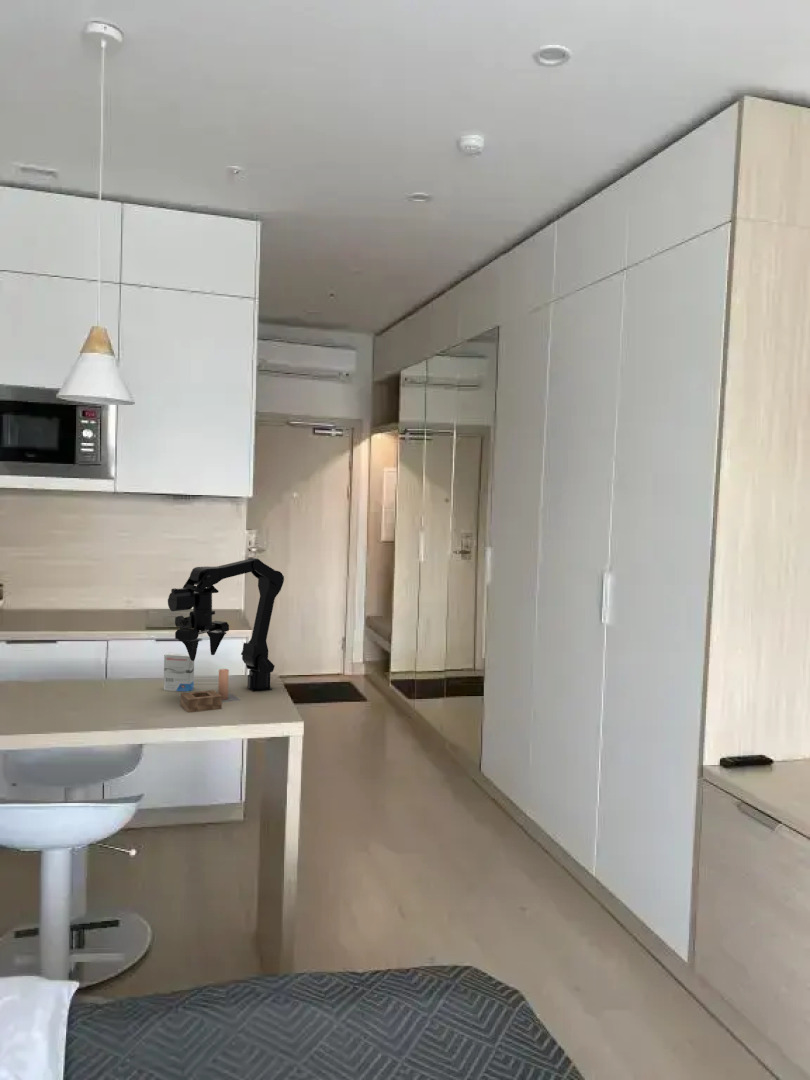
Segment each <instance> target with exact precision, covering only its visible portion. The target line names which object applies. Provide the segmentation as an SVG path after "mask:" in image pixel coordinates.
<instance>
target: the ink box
mask: <svg viewBox="0 0 810 1080" xmlns="http://www.w3.org/2000/svg"><path fill="white" fill-rule="evenodd" d="M163 657H164V658H163V659H164V660H163V691H173V692H174V691H175V692H187V691H189V692H192V690H193V689H195V687H194V685H195V684H194V683H195V660H194V661H191V659H190V656H189V654H188V652H187V653H186V652H185V653H184V652H173V651H172V652H167V653H166V654H164V656H163Z"/></svg>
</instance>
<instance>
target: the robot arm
mask: <svg viewBox="0 0 810 1080" xmlns="http://www.w3.org/2000/svg"><path fill="white" fill-rule="evenodd" d="M248 573H251V574H252V575H253V576H254V577H255V578H256V579H257V587H258V588H257V589H258V592H259V598H258V605H257V609H256V613H255V619H254V624H253V628H252V633H251V638H250V640H249V641H248V642H243V644H242V651H241V654H240V655H241V656H242V657H241V659H242V661H243V663H244V664H245V666H246V669H247V670H248V672H249V673H248V675H247V684H246V685H247V686H246V688H247V689H248V690H250V691H252V692H263V691H264V692H265V691H272V690H273V688H272V687H271V673H274V669H275V664H273V662H271V660H270V659H269V647H268V643H267V640H268V639H267V638H268V633H269V628H270V623H271V619H272V613H273V609H274V604H275V600H276V598H277V596H278V594H280V593H281V591H282V587H283V584H284V581H285V576H284V575H283V573H282V572H281V571H279V570H275V569H274V568H272V567H271V566H269V565H268V564H266V563H264V562H263V561H262V560H261V559H259V558H256V557H255V558H253V557H248V558H247V559H243V560H239V561H235V562H231V563H227V564H221V565H217V566H195V567H193V568H192V570H191V572H190V574H189V576H188V579H187V580H186V582H185V584H184V585H183V586H182V588H181V587H180V588H175V587H174V588H171V590H170V591H171V592H170V593H169V595H168V598H167V605H168V608H169V610H170V612H180V611H190V610H192V611H190V612H189V616H186V617H184V615H179V616H176V617H174V618H175V619H174V624H175V627H176V628H178V629H177V630H176V631H175V632H174V637H175V638H174V639H175V640H178V641H179V642H182V644H184V646H185V648H186V650H187V654H189V656H190V659H191V661H194V662H195V659H196V657H197V653H198V646H199V642H200V640H199V639H198V637H199V636H200V635H203V634H207V636H208V638H209V647H210V648H209V651H210V655H211V656H214V655H215V654H216V653H217V650H218V648H219V646H220V644H221V642H222V641H223V639H224V637H225V635H227V632H229V631H230V625H229V623H228V622H227V621H221V620H213V615H215V614H216V610H213V594H218V593H219V590H218V589H217V588H216V587H215V586H214V585H216V584H218V583H220V581H222V580H224V579H227V578H228V579H229V578H232V577H236V576H237V577H238V576H240V575H244V574H248Z"/></svg>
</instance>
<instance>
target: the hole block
mask: <svg viewBox="0 0 810 1080" xmlns="http://www.w3.org/2000/svg"><path fill="white" fill-rule="evenodd" d="M222 705H223V702H222V696H221V695H219V694H218V692H217V691H216V690H214V689H211V690H201V691H200V690H199V691H189V692H183V693H182V692H180V707H182V709H184V710H185V711H186V712H187V713H195V712H205V711H212V710H213V711H214V710H221V709H223V707H222Z"/></svg>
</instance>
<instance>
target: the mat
mask: <svg viewBox="0 0 810 1080" xmlns="http://www.w3.org/2000/svg"><path fill="white" fill-rule="evenodd" d="M234 701H235V702H236V701H241V699H240V698H239V697H237V696H236V695H234V694H233V693H228V699H227V700H222V703H225V702H234Z"/></svg>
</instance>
